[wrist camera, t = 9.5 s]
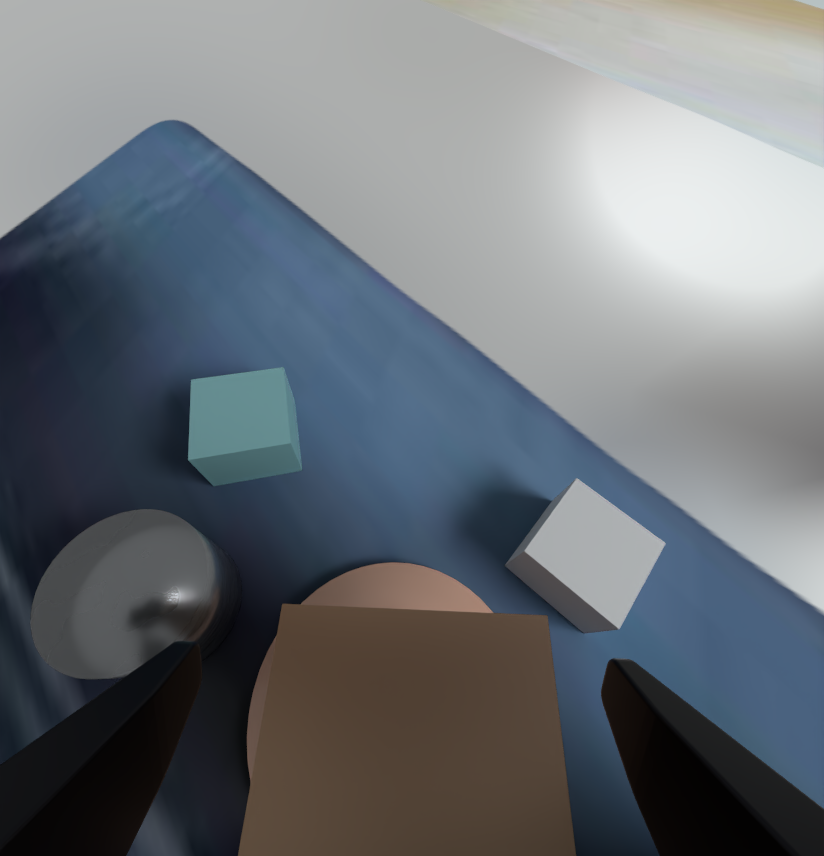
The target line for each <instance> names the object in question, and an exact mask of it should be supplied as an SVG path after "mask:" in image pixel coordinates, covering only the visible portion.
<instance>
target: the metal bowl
mask: <svg viewBox="0 0 824 856" xmlns="http://www.w3.org/2000/svg"><path fill="white" fill-rule="evenodd" d="M241 598H242V584H241V578H240V574H239V571H238V568H237V566H236V564H235V563H234V561H233V560H232V558H231V557H230V556H229V555H228V554H227V553H226V552H225V551H224V550H223V549H221V548H220V547H219V546H217V545H216V544H215V543H214V542H212V541H211V540H210V539H208V538H207V537H206V536H204V535H203V534H202V533H200V532H199V531H198V530H197V529H195V528H194V527H193V526H191V525H190V524H189V523H187V522H186V521H185V520H183V519H181V518H180V517H178V516H176V515H174V514H171V513H168V512H165V511H161V510H153V509H141V510H132V511H127V512H123V513H119V514H116V515H113V516H110V517H108V518H106V519H104V520H101V521H99V522H98V523H96V524H94V525H92V526H91V527H89V528H88V529H86V530H85V531H83V532H82V533H80V534H79V535H78V536H77V537H75V538H74V539H73V540H72V541H70V542H69V543H68V544H67V545H66V546H65V547H64V548H63V549H62V550H61V552H60V553H59V554H58V555H57V556H56V558H55V559H54V560H53V561H52V563H51V564H50V566H49V567H48V569H47V570H46V572H45V574H44V575H43V577H42V579H41V581H40V583H39V586H38V588H37V590H36V593H35V596H34V600H33V603H32V610H31V632H32V638H33V641H34V644H35V647H36V649H37V650H38V652H39V654H40V656H41V657H42V658H43V659H44V660H45V662H46V663H47V664H49V665H50V666H51V667H52V668H54V669H55V670H57V671H59V672H61V673H62V674H64V675H68V676H71V677H74V678H81V679H110V678H124V677H125V676H127V675H128V674H130V673H131V672H132V671H134V670H135V669H137V668H138V667H139V666H141V665H142V664H144V663H145V662H146V661H148V660H149V659H151V658H152V657H154V656H155V655H156V654H158V653H159V652H161V651H162V650H163V649H165V648H166V647H168V646H169V645H170V644H172V643H174V642H176V641H195V642H197V643H198V644H199V646H200V655H201V661H203V660H204V659H205V658H207V657H208V656H209V655H210V654H211V653H213V652H214V651H215V650H216V649H217V648H218V646H219V645H220V644H221V643H222V642H223V641H224V639H225V638H226V636H227V635H228V634H229V632H230V630H231V628H232V627H233V625H234V623H235V620H236V618H237V615H238V612H239V609H240V604H241Z"/></svg>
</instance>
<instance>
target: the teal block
mask: <svg viewBox="0 0 824 856" xmlns="http://www.w3.org/2000/svg"><path fill="white" fill-rule="evenodd" d="M188 461H189V462H190V463H191V464H192V465H193V466H194V467H195V468H196V469H197V470H198V471H199V472H200V473H201V474H202V475H203V476H204V477H205V478H206V479H207V480H208V481H209V482H210V483H211V484H212V485H213V486H218V485H224V484H230V483H235V482H241V481H247V480H252V479H258V478H264V477H269V476H275V475H280V474H286V473H292V472H297V471H302V464H301V454H300V445H299V436H298V426H297V417H296V408H295V400H294V397H293V394H292V391H291V388H290V385H289V382H288V379H287V376H286V373H285V370H284V367H282V368H274V369H267V370H259V371H252V372H245V373H237V374H230V375H222V376H215V377H207V378H200V379H192V380H191V396H190V422H189V449H188Z"/></svg>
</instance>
